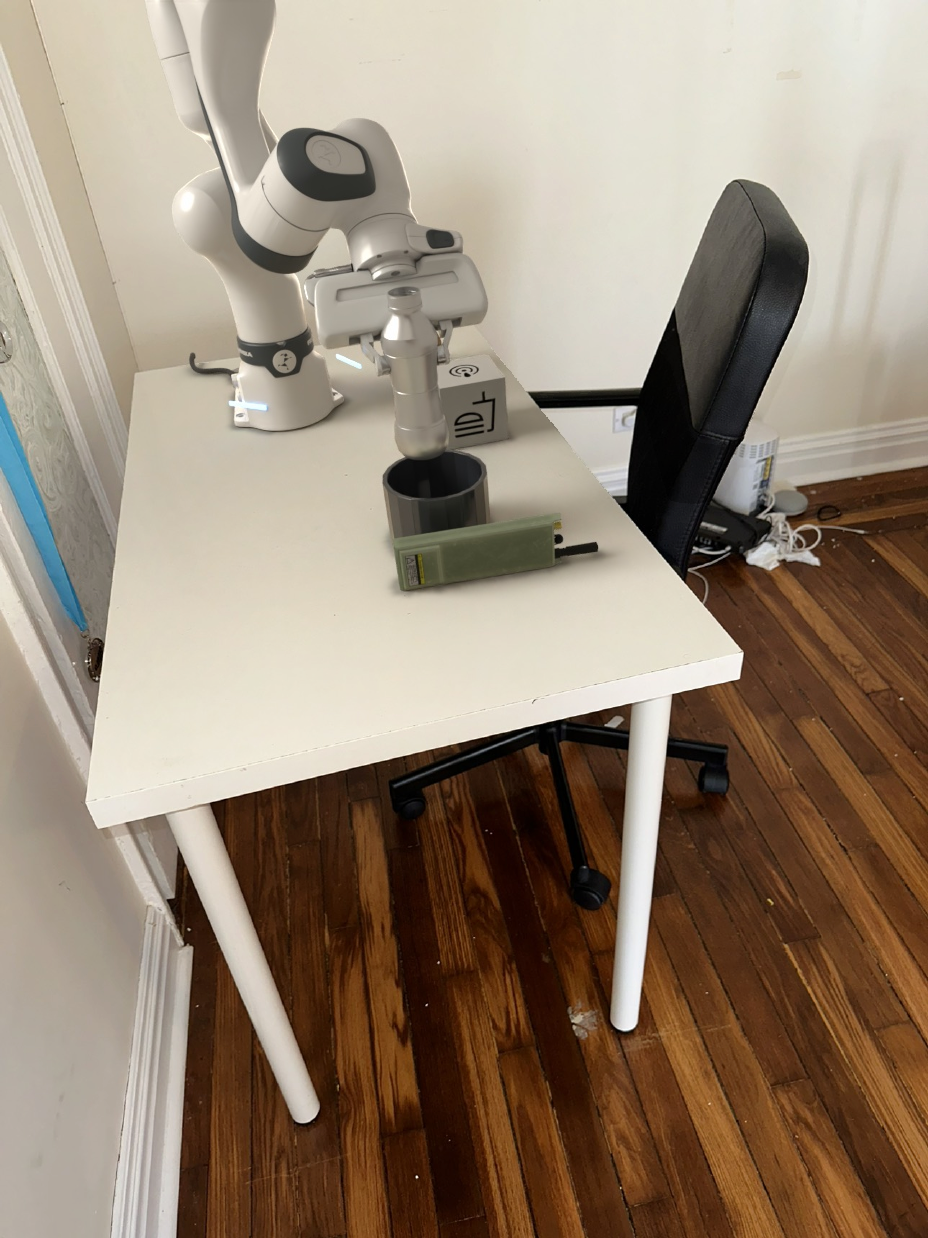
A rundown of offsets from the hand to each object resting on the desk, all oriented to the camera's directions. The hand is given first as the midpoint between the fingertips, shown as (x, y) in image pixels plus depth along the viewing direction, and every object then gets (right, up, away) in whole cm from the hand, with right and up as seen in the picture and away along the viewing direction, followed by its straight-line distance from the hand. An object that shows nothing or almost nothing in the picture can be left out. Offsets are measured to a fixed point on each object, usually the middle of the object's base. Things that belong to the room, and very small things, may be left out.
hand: (414, 368), depth 106 cm
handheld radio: (+10, -23, +7) cm, 26 cm away
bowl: (+3, -18, +15) cm, 24 cm away
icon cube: (+6, 0, +39) cm, 39 cm away
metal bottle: (+1, -9, +7) cm, 12 cm away
